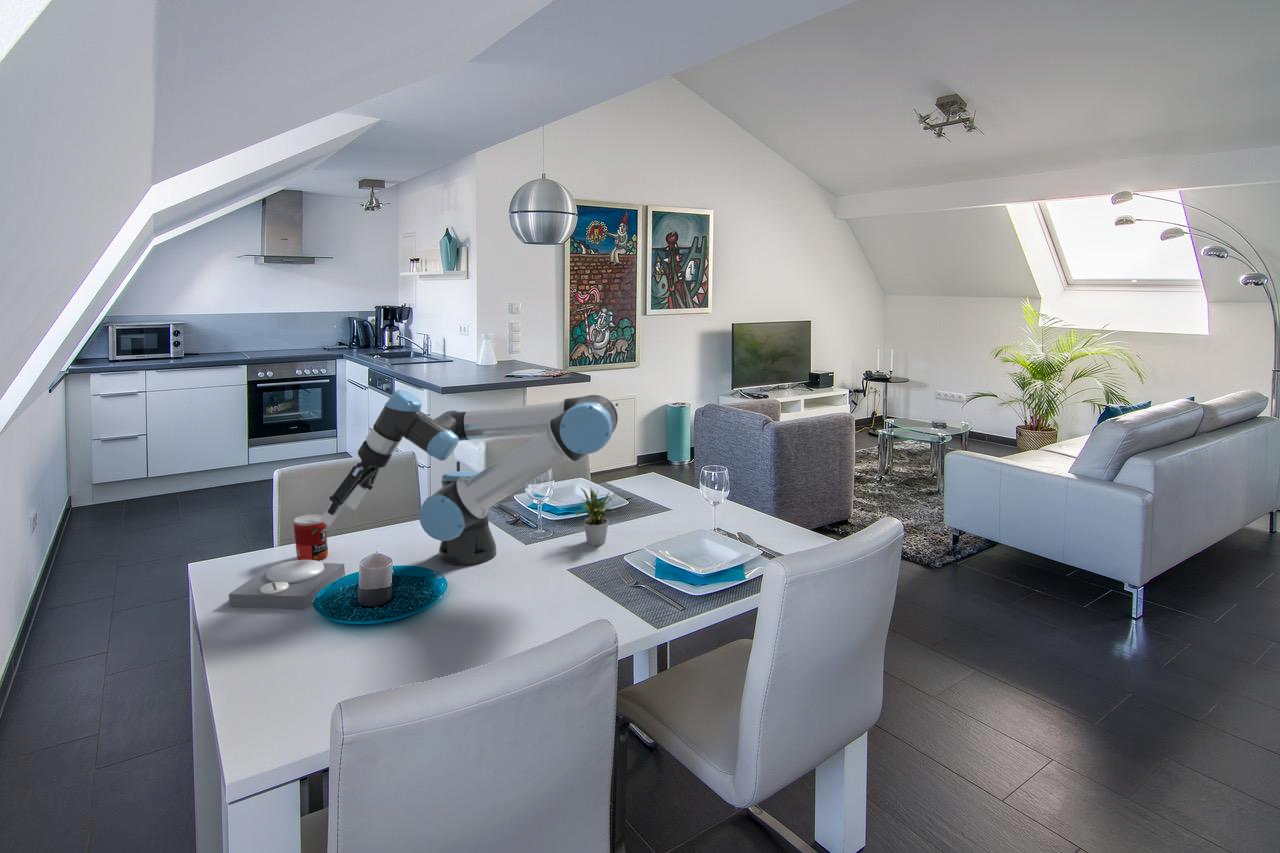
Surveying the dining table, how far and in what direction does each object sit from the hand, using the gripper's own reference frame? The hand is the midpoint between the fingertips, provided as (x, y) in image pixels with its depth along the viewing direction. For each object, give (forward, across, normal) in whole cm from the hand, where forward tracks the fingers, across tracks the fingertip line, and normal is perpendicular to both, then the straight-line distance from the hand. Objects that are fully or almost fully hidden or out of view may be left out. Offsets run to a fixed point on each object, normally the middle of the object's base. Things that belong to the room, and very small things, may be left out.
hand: (338, 514), depth 195 cm
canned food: (+19, -8, -2) cm, 21 cm away
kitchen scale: (+17, +12, +2) cm, 21 cm away
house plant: (-21, -27, +59) cm, 68 cm away
